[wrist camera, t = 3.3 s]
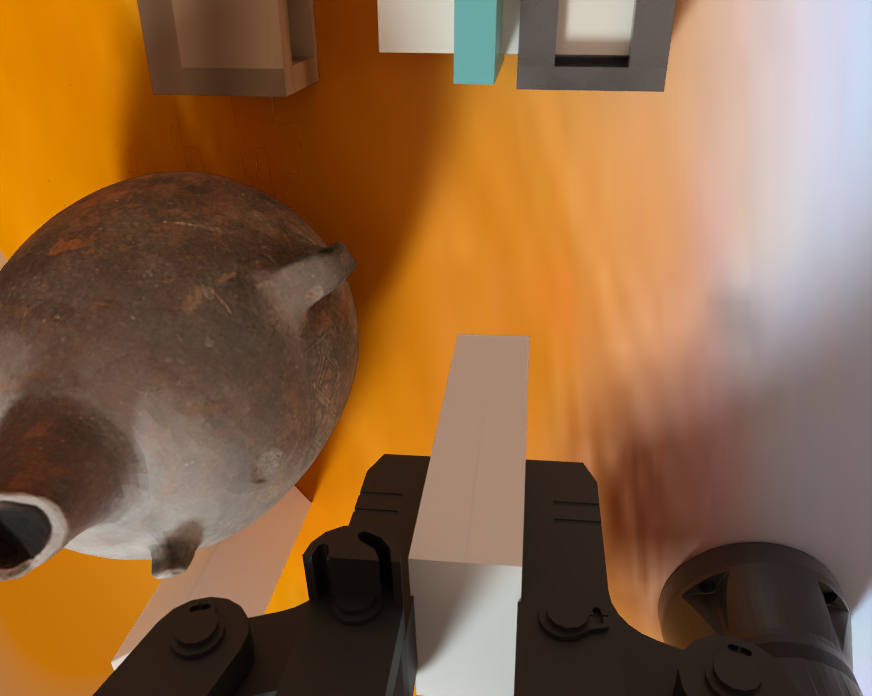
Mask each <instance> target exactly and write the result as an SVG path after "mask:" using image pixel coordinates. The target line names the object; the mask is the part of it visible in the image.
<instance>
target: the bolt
mask: <svg viewBox="0 0 872 696" xmlns="http://www.w3.org/2000/svg"><path fill="white" fill-rule="evenodd" d="M634 1H635V0H559V5H558V19H557V34H556V48H555V54H560V55H628V54H629V45H630V36H631V27H632V19H633V10H634ZM520 3H521V0H377V6H378V35H379V52H389V53H454V84H494V83H495V80H496V78H497V76H498V73H499V71H500V69H501V66H502V64H503V61H504V54H518V46H519V25H520Z"/></svg>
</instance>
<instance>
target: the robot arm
mask: <svg viewBox="0 0 872 696" xmlns="http://www.w3.org/2000/svg"><path fill="white" fill-rule="evenodd" d="M529 337H530V336H505V335H474V334H458V336H457V341H456V345H455V350H454V354H453V359H452V363H451V368H450V372H449V377H448V381H447V386H446V390H445V395H444V399H443V404H442V408H441V413H440V417H439V422H438V426H437V431H436V435H435V440H434V444H433V449H432V453H431V457H430V456H411V455H392V454H384V455H383V456H382V457H381V458H380V459H379V460H378V461H377V462H376V463H375V464H374V465H373V466H372V467H371V468H370V469H369V470H368V471H367V473H366V476H365V479H364V482H363V485H362V488H361V491H360V495H359V497H358V500H357V503H356V506H355V512H353V515H352V517H351V520H350V523H349V526H342V527H339V528H336V529H333V530H330V531H328V532H325V533H324V534H322V535H321V536H320V537H318V538H317V539H315V540H314V541H313V542H311V544H310V545H309V547H308V548H307V550H306V551H305V552H304V554H303V555H302V556H303V562H304V569H305V575H306V582H307V588H308V595H309V601H307V602H305V603H303V604H301V605H299V606H297V607H295V608H291V609H288V610H284V611H281V612H276V613H270V614H265V615H260V616H255V617H249V618H248V617H247V615H246V613H245V612H244V610H243V608H242V607H241V606H240V605H238V604H237V603H235V602H233V601H231V600H229V599H227V598H218V597H206V598H201V599H195V600H191V601H189V602H187V603H184V604H182V605H180V606H178V607H176V608H174V609H172V610H171V611H170V612H169V613H168V614H166V615H165V616H164V617H163V618H162V619H161V620H159V621H158V622H157V623H156V624H155V626H154V627H153V628H152V629H151V630H150V631H149V632H148V633H147V635H146V636H145V637H144V638H143V639H142V640H141V641H140V643H139V644H138V645H137V646H136V647H135V648H134V649H133V650H132V652H131V653H130V654H129V655H128V656H127V657H126V658H125V659H124V661H123V662H122V663H121V664H120V665H119V666H118V667H117V668H116V670H115V671H114V672H113V673H112V674H111V675H110V676H109V678H108V679H107V680H106V681H105V682H104V683H103V685H101V687H100V688H99V689H98V690H97V691H96V692H95V693H94V694H93V696H413V691H414V685H415V680H416V692H417V695H424V696H863V695H862V692H861V690H860V688H859V686H858V683H857V681H856V679H855V677H854V674H853V661H852V632H851V616H850V611H849V608H848V604H847V602H846V600H845V597H844V595H843V593H842V591H841V589H840V587H839V585H838V583H837V581H836V579H835V578H834V576H833V575H832V574H831V572H830V571H829V570H828V569H827V568H826V567H825V566H824V565H823V564H821V563H820V562H819V561H817V560H816V559H814V558H813V557H811V556H809V555H807V554H805V553H803V552H801V551H798V550H795V549H792V548H789V547H785V546H781V545H775V544H768V543H742V544H734V545H729V546H724V547H720V548H717V549H714V550H711V551H708V552H706V553H703V554H701V555H699V556H697V557H695V558H693V559H692V560H690V561H688V562H687V563H686V564H684V565H683V566H682V567H680V568H679V569H678V570H677V571H676V572H675V573H674V574H673V575H672V576H671V577H670V579H669V580H668V581H667V583H666V584H665V586H664V588H663V590H662V592H661V595H660V599H659V604H658V615H659V621H660V626H661V632H662V637H663V640H664V643H663V642H660V641H657V640H655V639H652V638H650V637H648V636H646V635H644V634H641V633H640V632H639V631H637V630H636V629H634V628H633V627H631V626H630V625H628V624H627V623H626V621H625V620H624V619H623V618H622V617H621V616H620V615H619V614H618V613H617V611H616V609H615V608H614V606H613V604H612V603H611V599H610V595H609V592H608V583H607V573H606V564H605V554H604V545H603V535H602V526H601V516H600V508H599V497H598V488H597V482H596V480H595V479H594V477H593V476H592V475H591V473H590V472H589V471H588V469H587V468H586V466H585V465H584V464H583V463H578V462H560V461H541V460H526V431H527V400H528V368H529Z"/></svg>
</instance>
